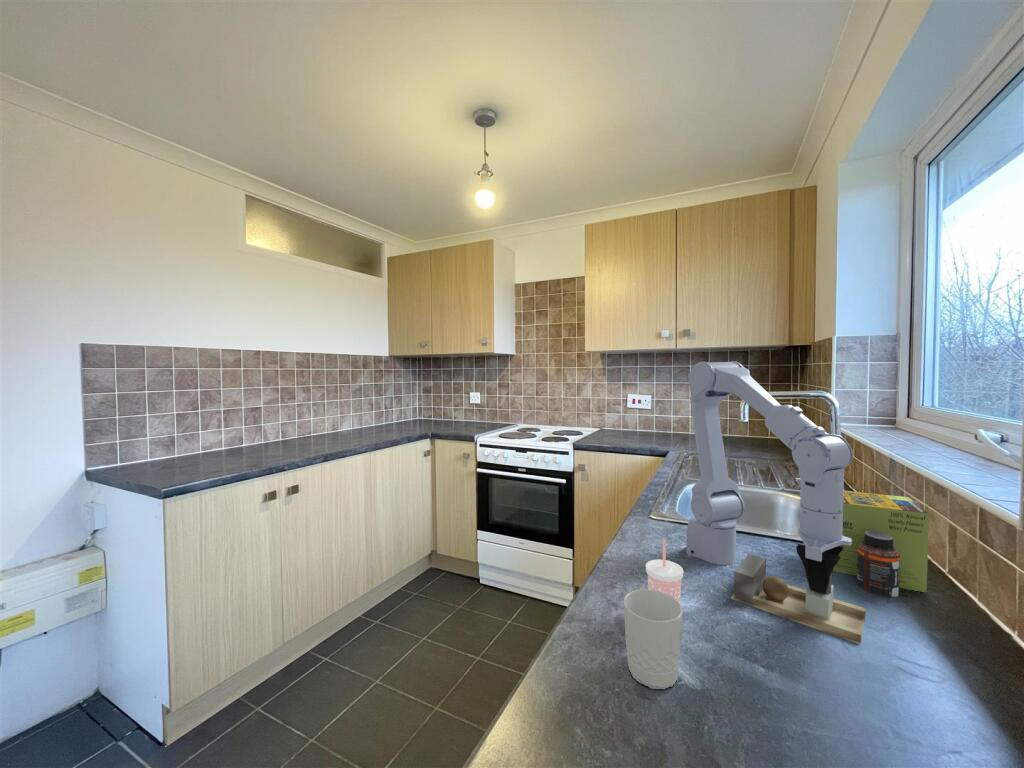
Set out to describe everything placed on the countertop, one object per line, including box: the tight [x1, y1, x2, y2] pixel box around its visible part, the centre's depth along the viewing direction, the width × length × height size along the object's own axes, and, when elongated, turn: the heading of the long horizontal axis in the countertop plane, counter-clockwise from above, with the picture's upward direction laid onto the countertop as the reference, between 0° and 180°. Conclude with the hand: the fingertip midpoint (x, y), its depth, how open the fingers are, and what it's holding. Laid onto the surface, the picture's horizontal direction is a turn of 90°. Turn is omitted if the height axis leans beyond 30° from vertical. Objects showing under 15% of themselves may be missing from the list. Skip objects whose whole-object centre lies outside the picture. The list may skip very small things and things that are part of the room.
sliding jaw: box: [805, 572, 834, 620], centre depth 69 cm, size 3×6×8 cm, turn 136°
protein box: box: [833, 490, 930, 592], centre depth 84 cm, size 10×15×16 cm
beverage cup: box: [645, 538, 684, 604], centre depth 70 cm, size 6×6×14 cm
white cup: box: [623, 588, 683, 687], centre depth 58 cm, size 8×8×10 cm
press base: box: [730, 553, 867, 645], centre depth 71 cm, size 18×10×6 cm, turn 46°
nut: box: [762, 575, 789, 604], centre depth 73 cm, size 4×4×4 cm
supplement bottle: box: [856, 531, 900, 598], centre depth 76 cm, size 6×6×11 cm
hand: (819, 586), depth 69 cm, fingers closed on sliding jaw, 3 cm apart
